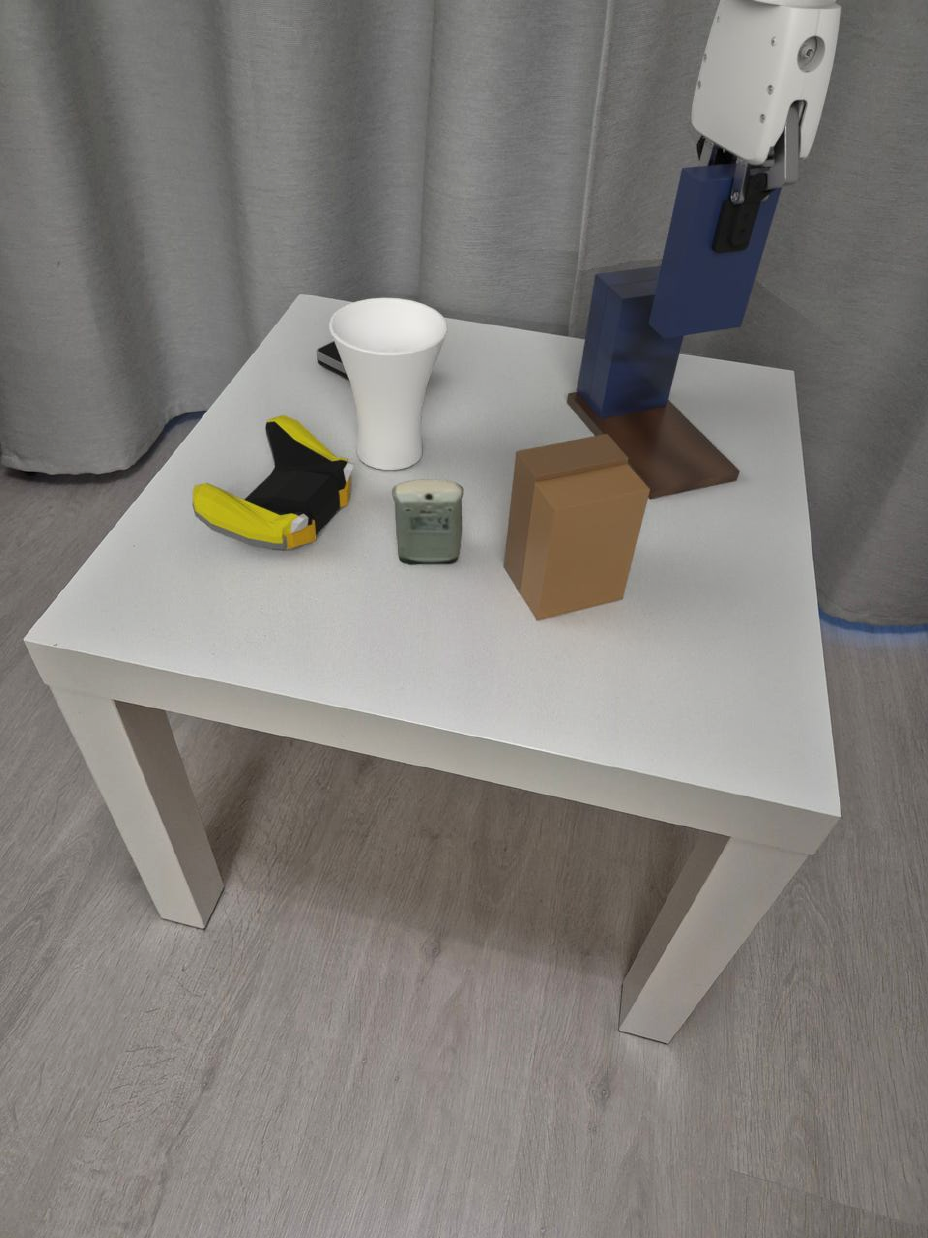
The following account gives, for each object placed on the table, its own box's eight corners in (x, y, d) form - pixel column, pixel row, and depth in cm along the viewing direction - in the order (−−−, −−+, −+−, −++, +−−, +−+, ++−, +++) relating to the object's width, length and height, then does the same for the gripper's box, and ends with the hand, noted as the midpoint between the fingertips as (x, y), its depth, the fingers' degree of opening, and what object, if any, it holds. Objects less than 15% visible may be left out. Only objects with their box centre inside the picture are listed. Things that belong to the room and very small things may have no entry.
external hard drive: (358, 344, 102) (357, 328, 101) (431, 379, 97) (431, 362, 96) (315, 366, 98) (314, 350, 97) (388, 403, 93) (388, 386, 92)
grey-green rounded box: (414, 586, 74) (415, 511, 68) (381, 552, 77) (380, 477, 71) (469, 562, 76) (475, 488, 71) (435, 529, 79) (438, 456, 73)
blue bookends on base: (646, 388, 98) (674, 263, 88) (737, 480, 87) (781, 348, 77) (566, 402, 95) (586, 274, 85) (649, 499, 84) (683, 365, 74)
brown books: (585, 547, 78) (607, 433, 70) (622, 599, 74) (651, 484, 65) (503, 566, 76) (516, 450, 68) (537, 621, 72) (555, 504, 63)
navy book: (723, 312, 80) (766, 159, 71) (741, 326, 78) (787, 171, 69) (648, 324, 78) (681, 167, 68) (664, 338, 76) (701, 180, 67)
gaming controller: (189, 542, 76) (288, 577, 74) (177, 491, 72) (282, 526, 70) (281, 453, 86) (372, 482, 84) (275, 404, 82) (370, 432, 80)
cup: (449, 480, 84) (455, 351, 75) (339, 486, 83) (331, 355, 73) (435, 420, 92) (439, 295, 82) (333, 424, 90) (326, 298, 80)
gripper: (912, -6, 56) (814, 278, 69) (761, -54, 66) (701, 200, 79) (817, -3, 53) (734, 289, 66) (676, -54, 64) (629, 208, 77)
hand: (717, 239), depth 73 cm, fingers closed on navy book, 2 cm apart
